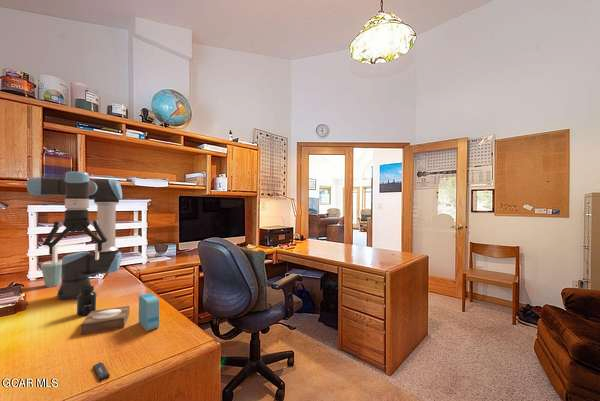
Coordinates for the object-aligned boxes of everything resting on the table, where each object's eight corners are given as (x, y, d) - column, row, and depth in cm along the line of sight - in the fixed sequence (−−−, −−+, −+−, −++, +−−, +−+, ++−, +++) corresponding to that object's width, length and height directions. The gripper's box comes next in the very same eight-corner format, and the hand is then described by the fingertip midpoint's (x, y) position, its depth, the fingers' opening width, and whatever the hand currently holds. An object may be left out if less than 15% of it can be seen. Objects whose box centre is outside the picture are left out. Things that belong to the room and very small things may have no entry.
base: (91, 320, 114) (91, 310, 114) (129, 314, 120) (129, 305, 120) (80, 335, 101) (80, 323, 101) (123, 327, 107) (123, 317, 107)
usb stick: (92, 369, 81) (92, 364, 81) (102, 365, 83) (102, 360, 83) (99, 383, 74) (99, 378, 74) (110, 379, 76) (110, 373, 76)
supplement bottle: (85, 317, 117) (85, 290, 117) (72, 316, 118) (73, 289, 118) (99, 311, 124) (100, 285, 124) (87, 309, 125) (88, 284, 125)
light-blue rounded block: (159, 328, 106) (159, 298, 106) (146, 332, 103) (147, 301, 103) (150, 319, 115) (150, 291, 115) (138, 322, 112) (138, 294, 112)
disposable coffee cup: (52, 288, 157) (52, 263, 157) (34, 288, 157) (35, 263, 157) (68, 283, 167) (68, 259, 168) (51, 282, 168) (52, 259, 168)
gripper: (31, 209, 99) (31, 266, 99) (111, 209, 110) (111, 259, 109) (41, 209, 106) (40, 262, 105) (115, 208, 116) (115, 256, 116)
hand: (76, 261), depth 107 cm, fingers open, 13 cm apart
